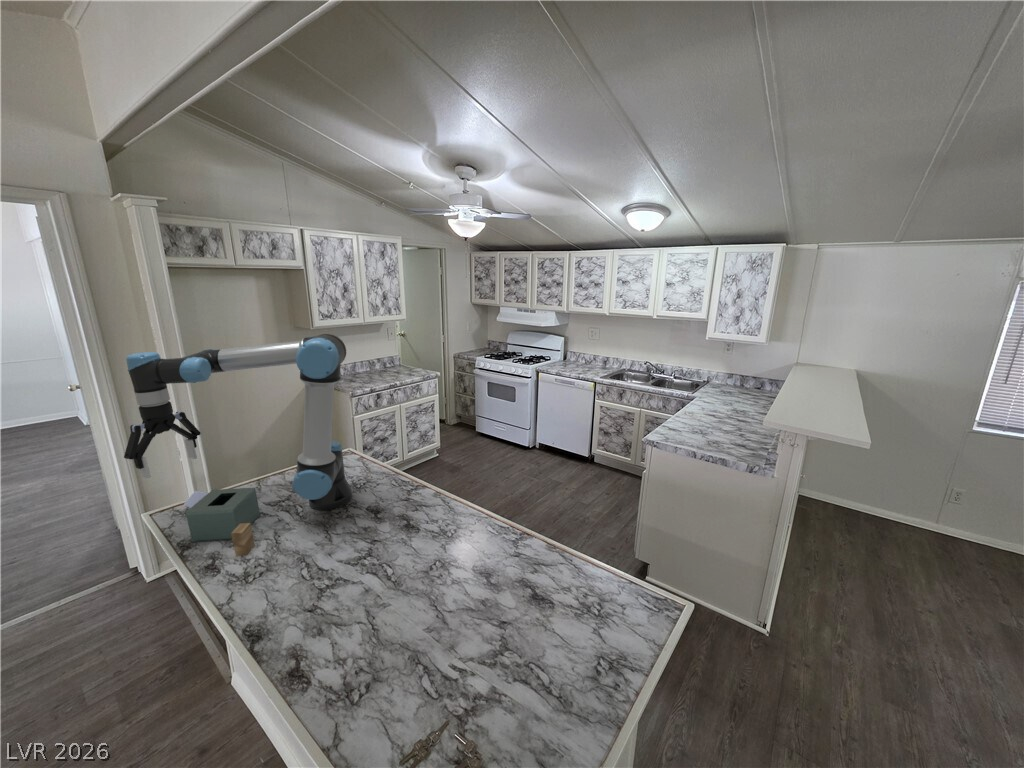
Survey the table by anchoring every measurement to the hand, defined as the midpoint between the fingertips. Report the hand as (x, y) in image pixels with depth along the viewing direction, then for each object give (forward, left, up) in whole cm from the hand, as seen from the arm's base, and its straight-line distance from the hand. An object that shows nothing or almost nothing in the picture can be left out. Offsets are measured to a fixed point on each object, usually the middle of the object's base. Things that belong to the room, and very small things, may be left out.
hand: (170, 467), depth 127 cm
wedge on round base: (+1, -14, -25) cm, 28 cm away
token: (-24, +11, -24) cm, 36 cm away
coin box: (-12, -2, -24) cm, 27 cm away
